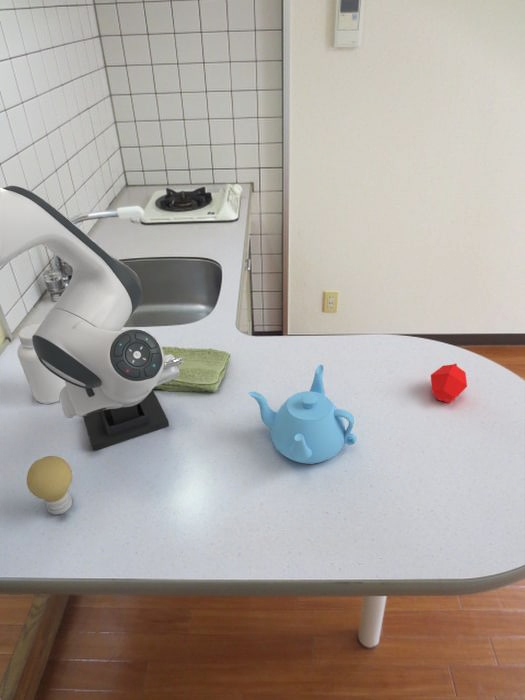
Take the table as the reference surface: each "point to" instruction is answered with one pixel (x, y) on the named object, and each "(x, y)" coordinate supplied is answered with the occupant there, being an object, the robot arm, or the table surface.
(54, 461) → the light bulb
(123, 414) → the pad block
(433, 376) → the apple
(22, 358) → the pill bottle
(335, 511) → the table surface
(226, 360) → the washcloth
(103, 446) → the base pad
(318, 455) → the teapot
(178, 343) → the table surface
